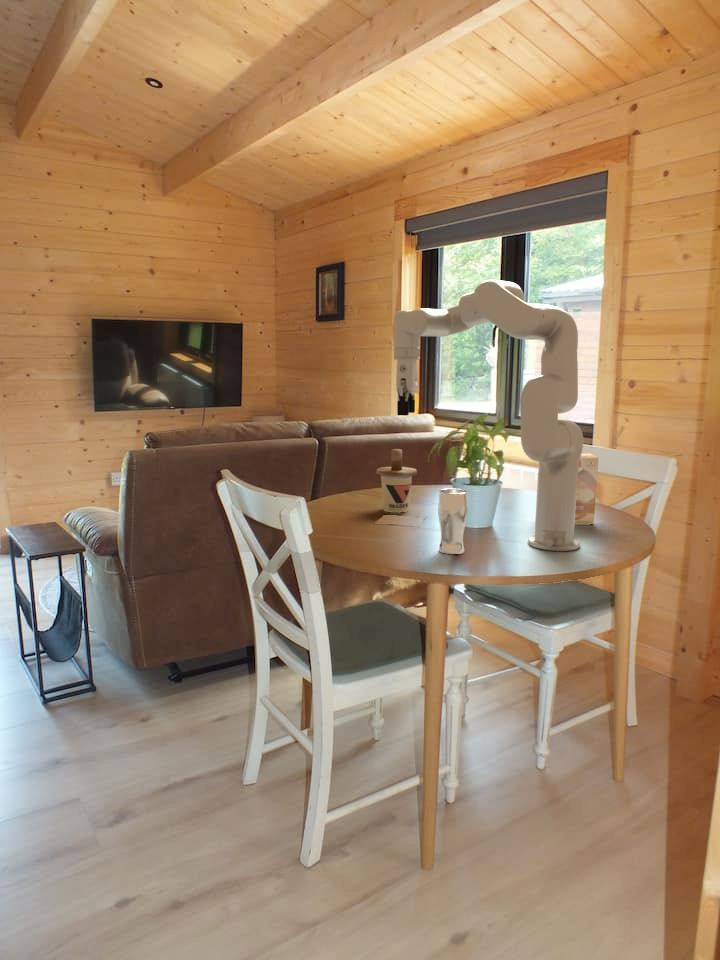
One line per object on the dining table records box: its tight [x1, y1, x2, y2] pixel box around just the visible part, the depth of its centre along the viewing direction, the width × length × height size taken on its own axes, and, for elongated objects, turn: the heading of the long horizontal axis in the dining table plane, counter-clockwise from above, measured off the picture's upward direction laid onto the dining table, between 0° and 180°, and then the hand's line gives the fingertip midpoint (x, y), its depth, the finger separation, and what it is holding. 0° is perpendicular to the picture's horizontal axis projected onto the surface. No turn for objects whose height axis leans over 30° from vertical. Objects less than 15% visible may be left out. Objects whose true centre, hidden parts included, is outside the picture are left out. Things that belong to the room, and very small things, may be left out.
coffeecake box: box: [538, 453, 599, 526], centre depth 201 cm, size 15×7×20 cm, turn 91°
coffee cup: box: [380, 475, 413, 512], centre depth 213 cm, size 9×9×12 cm
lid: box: [376, 448, 417, 477], centre depth 211 cm, size 12×12×7 cm
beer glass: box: [437, 488, 468, 555], centre depth 171 cm, size 7×7×15 cm
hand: (406, 413), depth 208 cm, fingers open, 9 cm apart
